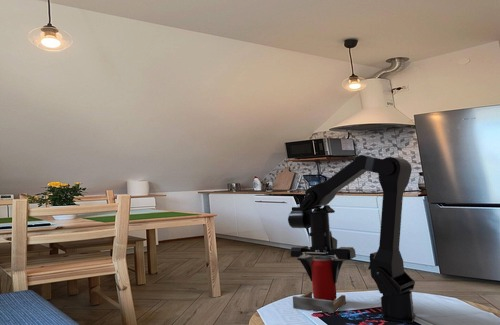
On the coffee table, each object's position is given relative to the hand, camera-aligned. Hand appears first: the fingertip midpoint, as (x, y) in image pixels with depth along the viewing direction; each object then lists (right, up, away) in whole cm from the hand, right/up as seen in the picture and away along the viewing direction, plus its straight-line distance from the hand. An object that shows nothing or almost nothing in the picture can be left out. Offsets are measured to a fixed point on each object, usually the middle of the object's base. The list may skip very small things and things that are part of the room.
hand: (323, 282), depth 97 cm
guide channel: (-2, -5, -4) cm, 7 cm away
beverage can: (0, -5, -1) cm, 5 cm away
